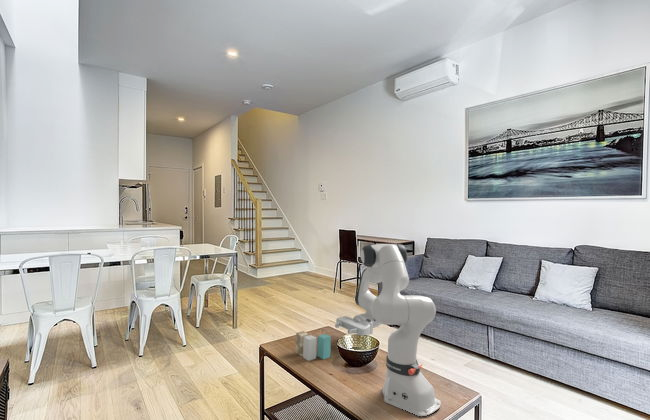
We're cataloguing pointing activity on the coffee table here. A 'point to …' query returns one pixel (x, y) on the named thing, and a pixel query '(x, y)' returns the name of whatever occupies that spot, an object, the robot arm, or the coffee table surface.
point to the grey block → (309, 347)
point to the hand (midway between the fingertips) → (342, 328)
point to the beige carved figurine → (300, 342)
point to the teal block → (324, 346)
